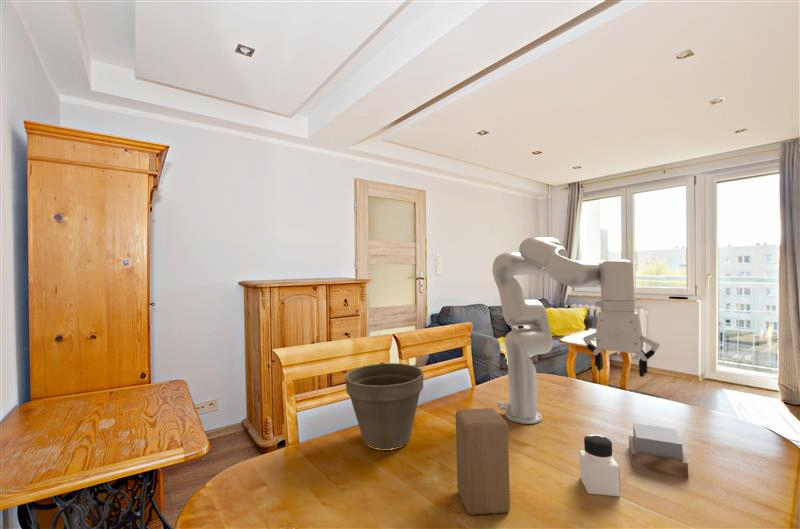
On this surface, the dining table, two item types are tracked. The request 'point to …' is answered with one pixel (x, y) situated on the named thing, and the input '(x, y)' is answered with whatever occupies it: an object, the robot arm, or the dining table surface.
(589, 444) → the medicine bottle
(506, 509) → the wooden block
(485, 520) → the dining table surface
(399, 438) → the plant pot
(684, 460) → the tower base
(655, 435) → the tower top
